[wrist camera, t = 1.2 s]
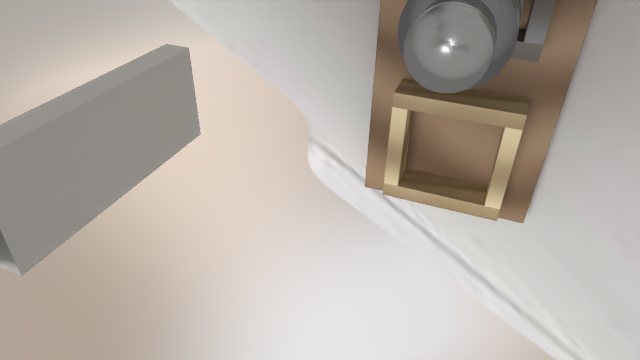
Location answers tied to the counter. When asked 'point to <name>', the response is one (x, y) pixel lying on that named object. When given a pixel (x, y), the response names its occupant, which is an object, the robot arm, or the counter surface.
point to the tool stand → (474, 117)
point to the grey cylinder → (457, 41)
